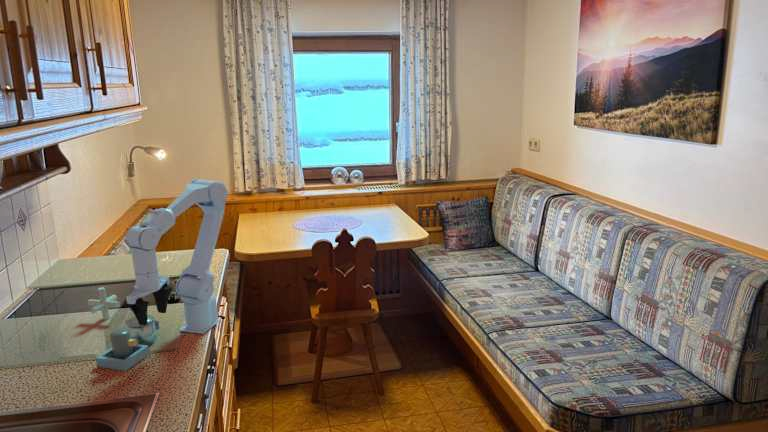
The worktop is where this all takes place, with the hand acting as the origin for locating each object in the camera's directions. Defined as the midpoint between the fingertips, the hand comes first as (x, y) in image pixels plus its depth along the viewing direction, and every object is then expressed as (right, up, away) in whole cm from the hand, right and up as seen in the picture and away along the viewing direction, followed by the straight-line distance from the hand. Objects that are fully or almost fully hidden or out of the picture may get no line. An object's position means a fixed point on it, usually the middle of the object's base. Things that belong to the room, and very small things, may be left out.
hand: (152, 318), depth 151 cm
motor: (-6, -8, +7) cm, 12 cm away
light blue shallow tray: (-7, -11, -3) cm, 13 cm away
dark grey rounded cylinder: (-6, -11, -3) cm, 13 cm away
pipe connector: (-24, -4, +23) cm, 33 cm away
